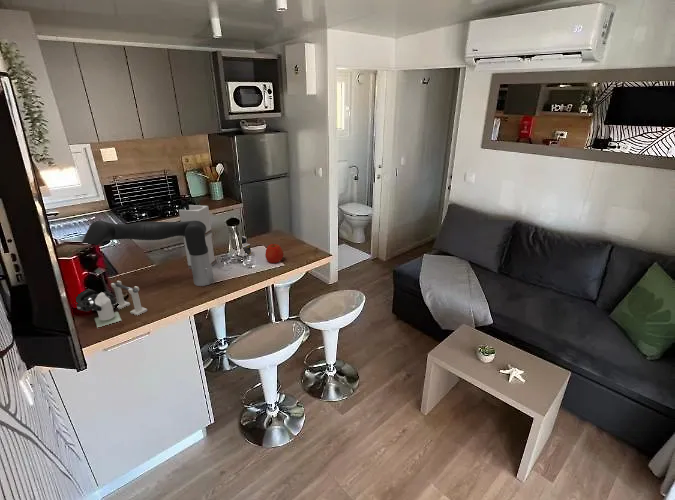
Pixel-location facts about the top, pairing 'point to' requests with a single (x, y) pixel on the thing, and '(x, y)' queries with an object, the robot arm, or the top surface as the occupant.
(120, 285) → the rod
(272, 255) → the apple
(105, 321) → the mat
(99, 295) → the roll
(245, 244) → the medicine bottle
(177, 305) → the top surface
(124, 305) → the hurdle posts
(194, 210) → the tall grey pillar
